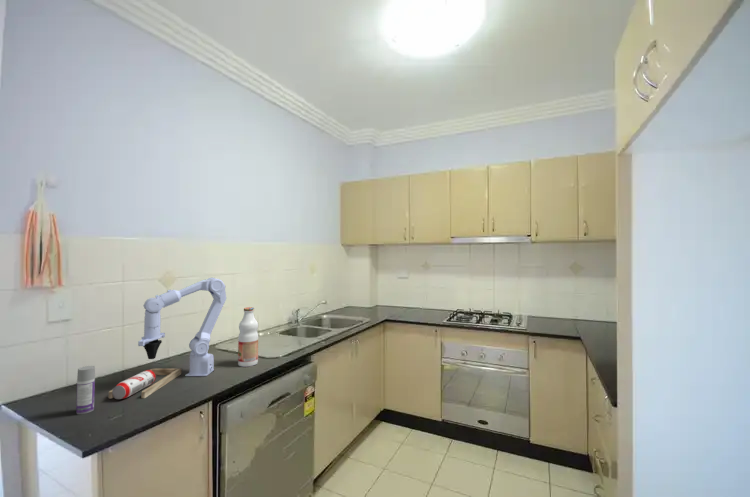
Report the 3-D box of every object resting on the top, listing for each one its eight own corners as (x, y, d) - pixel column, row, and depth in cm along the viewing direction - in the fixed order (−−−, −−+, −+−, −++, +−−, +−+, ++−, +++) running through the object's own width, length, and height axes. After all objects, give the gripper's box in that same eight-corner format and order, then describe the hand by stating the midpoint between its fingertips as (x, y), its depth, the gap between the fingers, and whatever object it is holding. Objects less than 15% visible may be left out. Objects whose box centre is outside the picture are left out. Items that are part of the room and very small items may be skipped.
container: (83, 408, 117) (84, 365, 117) (97, 407, 117) (98, 365, 117) (72, 414, 112) (73, 370, 112) (87, 414, 112) (88, 370, 113)
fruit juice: (250, 367, 159) (251, 309, 160) (233, 366, 161) (234, 309, 162) (261, 361, 168) (262, 306, 169) (245, 360, 170) (246, 306, 171)
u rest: (181, 374, 150) (181, 368, 150) (144, 398, 125) (144, 391, 125) (151, 374, 150) (151, 368, 150) (108, 398, 125) (108, 391, 125)
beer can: (155, 385, 139) (125, 402, 123) (141, 382, 139) (109, 399, 123) (158, 370, 139) (128, 385, 123) (144, 367, 139) (112, 382, 123)
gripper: (153, 322, 147) (153, 353, 147) (130, 330, 132) (129, 364, 132) (169, 322, 147) (169, 353, 147) (148, 330, 133) (147, 364, 132)
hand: (151, 358), depth 139 cm, fingers closed
